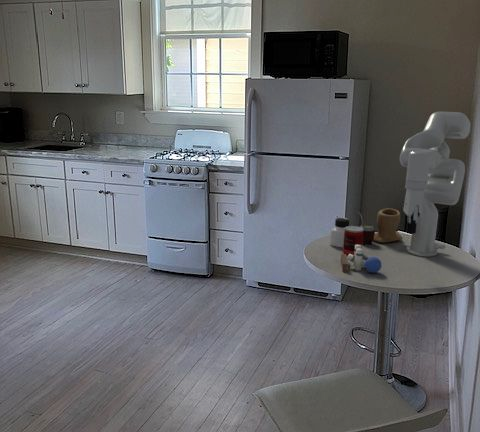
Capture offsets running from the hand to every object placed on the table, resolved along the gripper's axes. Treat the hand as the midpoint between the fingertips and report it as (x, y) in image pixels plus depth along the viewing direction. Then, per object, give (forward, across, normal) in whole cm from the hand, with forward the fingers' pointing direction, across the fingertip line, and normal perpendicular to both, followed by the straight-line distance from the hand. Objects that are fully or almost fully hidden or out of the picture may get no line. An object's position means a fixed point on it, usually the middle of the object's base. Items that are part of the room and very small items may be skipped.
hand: (410, 232), depth 192 cm
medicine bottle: (+15, -28, -23) cm, 40 cm away
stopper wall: (+15, 0, -24) cm, 28 cm away
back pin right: (+15, -2, -18) cm, 24 cm away
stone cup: (+15, -39, -1) cm, 42 cm away
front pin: (+14, 0, -15) cm, 20 cm away
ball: (+12, +5, -13) cm, 19 cm away
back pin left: (+15, +2, -18) cm, 24 cm away
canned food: (+15, -17, -19) cm, 30 cm away
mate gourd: (+15, -33, -12) cm, 39 cm away
